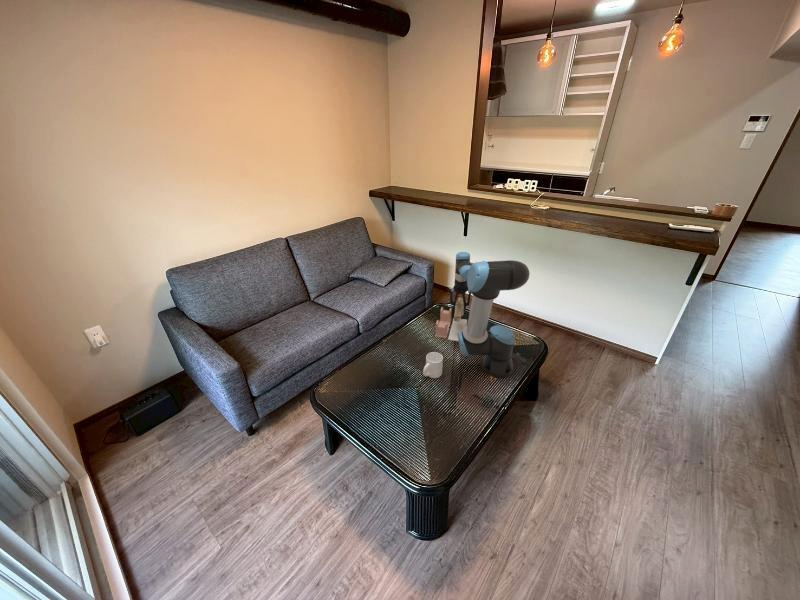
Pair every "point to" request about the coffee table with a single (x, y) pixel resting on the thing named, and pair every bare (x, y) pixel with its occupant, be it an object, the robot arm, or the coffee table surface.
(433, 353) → the mug
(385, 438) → the coffee table surface
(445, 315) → the stand
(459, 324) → the mat
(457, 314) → the rail
